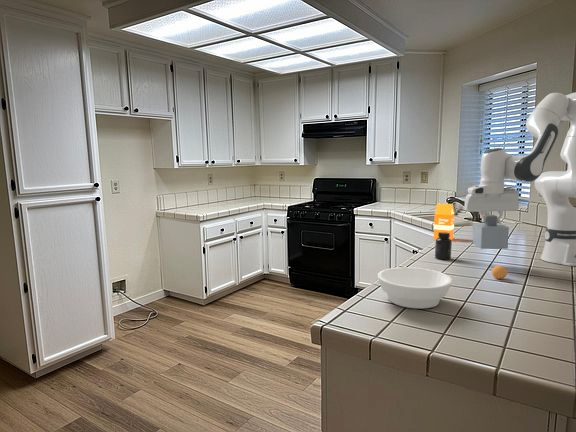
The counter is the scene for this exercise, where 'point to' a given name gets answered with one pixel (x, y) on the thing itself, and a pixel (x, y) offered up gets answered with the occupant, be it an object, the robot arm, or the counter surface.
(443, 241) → the supplement bottle
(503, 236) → the grey block with knob
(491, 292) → the counter surface
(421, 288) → the bowl
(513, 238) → the counter surface
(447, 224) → the orange juice
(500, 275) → the ball
